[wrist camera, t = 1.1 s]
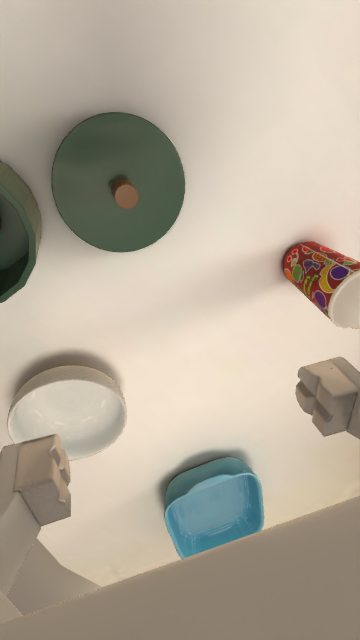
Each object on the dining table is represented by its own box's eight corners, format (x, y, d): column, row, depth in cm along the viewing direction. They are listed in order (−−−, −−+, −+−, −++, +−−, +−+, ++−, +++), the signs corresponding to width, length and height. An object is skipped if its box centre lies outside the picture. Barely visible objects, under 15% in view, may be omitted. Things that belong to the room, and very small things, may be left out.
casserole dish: (255, 514, 95) (267, 541, 89) (179, 544, 92) (186, 574, 87) (245, 432, 74) (260, 460, 68) (147, 469, 72) (154, 501, 66)
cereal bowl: (-2, 360, 49) (-11, 394, 43) (115, 340, 53) (121, 369, 47) (28, 438, 58) (24, 474, 53) (126, 416, 62) (132, 448, 56)
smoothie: (267, 255, 52) (358, 324, 36) (314, 222, 51) (428, 277, 35) (285, 292, 57) (373, 368, 41) (328, 263, 56) (435, 328, 40)
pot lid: (50, 242, 43) (48, 257, 38) (53, 95, 35) (52, 94, 31) (169, 254, 48) (179, 269, 44) (194, 129, 40) (209, 132, 36)
